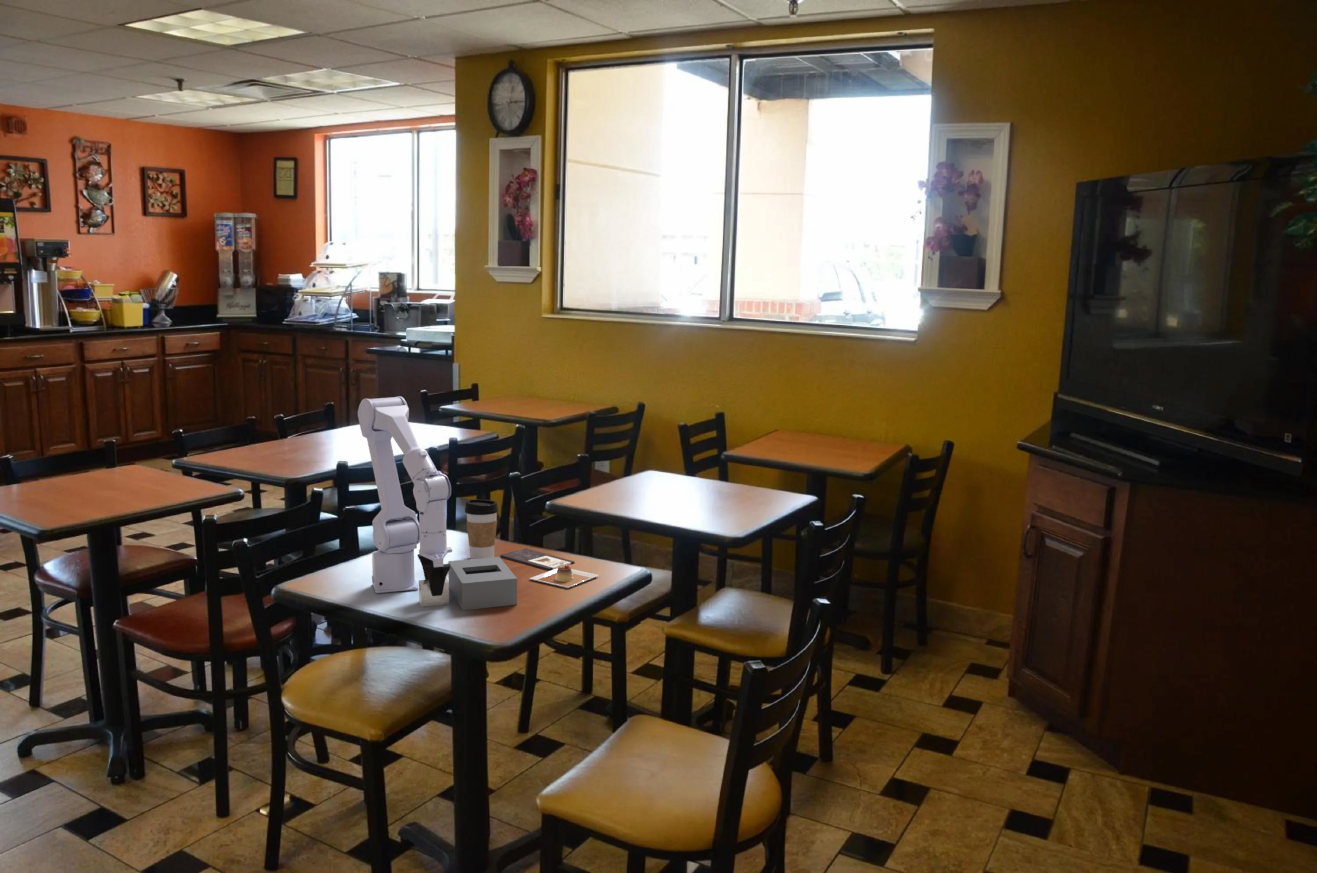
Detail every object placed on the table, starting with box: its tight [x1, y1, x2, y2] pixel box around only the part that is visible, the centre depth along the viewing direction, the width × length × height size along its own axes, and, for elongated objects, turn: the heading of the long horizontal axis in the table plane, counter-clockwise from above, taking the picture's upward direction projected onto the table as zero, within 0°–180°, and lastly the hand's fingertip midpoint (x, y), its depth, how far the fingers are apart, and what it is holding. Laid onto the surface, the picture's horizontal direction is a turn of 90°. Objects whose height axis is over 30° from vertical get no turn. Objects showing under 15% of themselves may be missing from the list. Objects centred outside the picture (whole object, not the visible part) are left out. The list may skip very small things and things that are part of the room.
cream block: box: [418, 577, 450, 608], centre depth 217 cm, size 6×4×5 cm, turn 111°
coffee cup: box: [464, 498, 499, 559], centre depth 251 cm, size 8×8×15 cm
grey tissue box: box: [447, 556, 518, 611], centre depth 222 cm, size 12×18×6 cm, turn 21°
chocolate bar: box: [499, 548, 575, 572], centre depth 252 cm, size 9×1×18 cm
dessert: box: [529, 561, 599, 589], centre depth 236 cm, size 12×12×5 cm
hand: (434, 590), depth 216 cm, fingers open, 7 cm apart
